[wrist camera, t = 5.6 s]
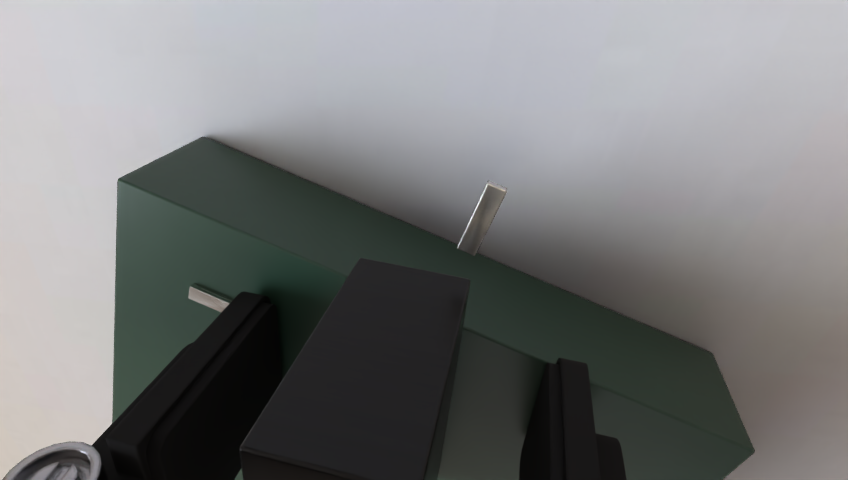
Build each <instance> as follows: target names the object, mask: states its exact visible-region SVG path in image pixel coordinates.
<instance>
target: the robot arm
mask: <svg viewBox="0 0 848 480" xmlns="http://www.w3.org/2000/svg"><path fill="white" fill-rule="evenodd" d="M281 381H282V374H281V359H280V345H279V331H278V316H277V307H276V305H274V304H271V302H270V299H269V297H267V296H264V295H259V294H254V293H249V292H245V291H243V292H241V293H239V294H238V295H237V296H236V297H235V298H234V299H233V300H232V302H231V303H230V304H229V305H228V306H227V307H226V308H225V309H224V310H223V311H222V312H221V313H220V314H219V316H218V317H217V318H216V319H215V320H214V321H213V322H212V323H211V324H210V325H209V326H208V327H207V329H206V330H205V331H204V332H203V333H202V334H201V335H200V336H199V337H198V338H197V339H196V340H195V341H194V342H193V343H190V344H188V345H187V346H186V347H184V348H183V349H182V350H181V351H180V352H179V353H178V354H177V355H176V356H175V357H174V359H173V360H172V361H171V362H170V363H169V364H168V365H167V366H166V367H165V368H164V369H163V370H162V371H161V372H160V373H159V375H158V376H157V377H156V378H155V379H154V380H153V381H152V382H151V383H150V384H149V385H148V386H147V387H146V388H145V389H144V390H143V392H142V393H141V394H140V395H139V396H138V397H137V398H136V399H135V400H134V401H133V402H132V403H131V404H130V405H129V406H128V408H127V409H126V410H125V411H124V412H123V413H122V414H121V415H120V416H119V417H118V418H117V419H116V420H115V421H114V422H113V423H112V425H111V426H110V427H109V428H108V429H107V430H106V431H105V432H104V433H103V434H102V435H101V436H100V437H99V438H98V439H97V441H96V442H95V443H94V444H93V445H92V446H91V445H88V444H86V443H83V442H64V443H58V444H54V445H51V446H48V447H46V448H43V449H40V450H38V451H36V452H35V453H33V454H31V455H29V456H28V457H26V458H24V459H23V460H22V461H20V462H19V463H18V464H17V465H16V466H14V467H13V468H12V469H11V470H10V471H9V472H8V473H7V474H6V476H5V477H4V478H3V479H2V480H235V478H236V476H237V475H238V473H239V471H240V470H241V468H242V467H241V460H240V453H239V449H240V446H241V444H242V443H243V441H244V439H245V438H246V436H247V435H248V433H249V432H250V430H251V428H252V427H253V425H254V424H255V422H256V421H257V419H258V417H259V416H260V414H261V413H262V411H263V410H264V408H265V406H266V405H267V403H268V402H269V400H270V399H271V397H272V395H273V394H274V392H275V391H276V389H277V387H278V386H279V384H280V383H281ZM519 480H627V479H626V473H625V466H624V460H623V454H622V449H621V445H620V442H619V440H618V439H617V438H614V437H610V436H605V435H601V434H596V433H595V424H594V415H593V406H592V397H591V388H590V380H589V371H588V365H587V363H583V362H579V361H574V360H569V359H564V358H558V360H557V362H556V364H553V363H547V364H546V367H545V370H544V374H543V377H542V381H541V384H540V388H539V391H538V395H537V398H536V401H535V405H534V408H533V412H532V415H531V419H530V422H529V426H528V429H527V433H526V436H525V440H524V443H523V447H522V451H521V457H520V468H519Z"/></svg>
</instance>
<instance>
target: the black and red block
mask: <svg viewBox="0 0 848 480" xmlns="http://www.w3.org/2000/svg"><path fill="white" fill-rule="evenodd" d="M470 283H471V282H470V279H468V278H462V277H457V276H452V275H447V274H442V273H437V272H432V271H427V270H422V269H416V268H411V267H406V266H401V265H396V264H391V263H386V262H381V261H375V260H370V259H365V258H359V260H358V261H357V263H356V265H355V266H354V268H353V269H352V271H351V272H350V274H349V276H348V277H347V279H346V280H345V282H344V283H343V285H342V287H341V288H340V290H339V291H338V293H337V295H336V296H335V298H334V299H333V301H332V302H331V304H330V306H329V307H328V309H327V310H326V312H325V313H324V315H323V317H322V318H321V320H320V321H319V323H318V324H317V326H316V328H315V329H314V331H313V332H312V334H311V335H310V337H309V339H308V340H307V342H306V343H305V345H304V347H303V348H302V350H301V351H300V353H299V354H298V356H297V358H296V359H295V361H294V362H293V364H292V365H291V367H290V369H289V370H288V372H287V373H286V375H285V376H284V378H283V380H282V381H281V383H280V384H279V386H278V387H277V389H276V391H275V392H274V394H273V395H272V397H271V399H270V400H269V402H268V403H267V405H266V406H265V408H264V410H263V411H262V413H261V414H260V416H259V417H258V419H257V421H256V422H255V424H254V425H253V427H252V428H251V430H250V432H249V433H248V435H247V436H246V438H245V439H244V441H243V443H242V444H241V446H240V449H239V453H240V460H241V467H242V474H243V480H437V478H438V472H439V467H440V461H441V455H442V449H443V443H444V437H445V431H446V425H447V419H448V413H449V407H450V401H451V395H452V389H453V384H454V378H455V372H456V366H457V360H458V354H459V348H460V342H461V336H462V330H463V324H464V318H465V312H466V307H467V301H468V295H469V289H470Z"/></svg>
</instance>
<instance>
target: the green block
mask: <svg viewBox="0 0 848 480" xmlns="http://www.w3.org/2000/svg"><path fill="white" fill-rule="evenodd" d="M506 193H507V188H506V187H503V186H501V185H499V184H496V183H494V182H492V181H489V180H488V181H487V184H486V186H485V188H484V190H483V192H482V194H481V196H480V198H479V201H478V203H477V205H476V207H475V209H474V211H473V213H472V216H471V218H470V220H469V222H468V224H467V226H466V228H465V231H464V233H463V235H462V237H461V239H460V241H459V243H458V245H457V244H455V243H453V242H450V241H448V240H446V239H443V238H441V237H438V236H436V235H434V234H431V233H429V232H427V231H424V230H422V229H420V228H417V227H415V226H413V225H410V224H408V223H406V222H403V221H401V220H399V219H396V218H394V217H392V216H389V215H387V214H385V213H382V212H380V211H378V210H375V209H373V208H370V207H368V206H366V205H363V204H361V203H359V202H356V201H354V200H352V199H349V198H347V197H345V196H342V195H340V194H338V193H335V192H333V191H331V190H328V189H326V188H324V187H321V186H319V185H317V184H314V183H312V182H310V181H307V180H305V179H302V178H300V177H298V176H295V175H293V174H291V173H288V172H286V171H284V170H281V169H279V168H277V167H274V166H272V165H270V164H267V163H265V162H263V161H260V160H258V159H256V158H253V157H251V156H249V155H246V154H244V153H242V152H239V151H237V150H235V149H232V148H230V147H227V146H225V145H223V144H220V143H218V142H216V141H213V140H211V139H209V138H206V137H201V138H199V139H197V140H195V141H193V142H191V143H189V144H187V145H185V146H183V147H181V148H179V149H177V150H175V151H173V152H171V153H169V154H167V155H165V156H163V157H161V158H159V159H157V160H155V161H153V162H151V163H149V164H147V165H145V166H143V167H141V168H139V169H137V170H135V171H133V172H131V173H129V174H127V175H125V176H123V177H121V178H119V179H118V182H117V229H116V277H115V324H114V371H113V419H112V423H113V422H114V421H115V420H116V419H117V418H118V417H119V416H120V415H121V414H122V413H123V412H124V411H125V410H126V409H127V408H128V406H129V405H130V404H131V403H132V402H133V401H134V400H135V399H136V398H137V397H138V396H139V395H140V394H141V393H142V392H143V390H144V389H145V388H146V387H147V386H148V385H149V384H150V383H151V382H152V381H153V380H154V379H155V378H156V377H157V376H158V375H159V373H160V372H161V371H162V370H163V369H164V368H165V367H166V366H167V365H168V364H169V363H170V362H171V361H172V360H173V359H174V357H175V356H176V355H177V354H178V353H179V352H180V351H181V350H182V349H183V348H184V347H186V346H187V345H188V344H190V343H193V342H194V341H195V340H196V339H197V338H198V337H199V336H200V335H201V334H202V333H203V332H204V331H205V330H206V329H207V327H208V326H209V325H210V324H211V323H212V322H213V321H214V320H215V319H216V318H217V317H218V316H219V314H220V313H221V312H222V311H223V310H224V309H225V308H226V307H227V306H228V305H229V304H230V303H231V302H232V300H233V299H234V298H235V297H236V296H237V295H238V294H239V293H241V292H243V291H245V292H249V293H254V294H259V295H264V296H267V297H269V299H270V302H271V304H274V305H276V307H277V316H278V331H279V345H280V359H281V374H282V380H283V378H284V376H285V375H286V373H287V372H288V370H289V369H290V367H291V365H292V364H293V362H294V361H295V359H296V358H297V356H298V354H299V353H300V351H301V350H302V348H303V347H304V345H305V343H306V342H307V340H308V339H309V337H310V335H311V334H312V332H313V331H314V329H315V328H316V326H317V324H318V323H319V321H320V320H321V318H322V317H323V315H324V313H325V312H326V310H327V309H328V307H329V306H330V304H331V302H332V301H333V299H334V298H335V296H336V295H337V293H338V291H339V290H340V288H341V287H342V285H343V283H344V282H345V280H346V279H347V277H348V276H349V274H350V272H351V271H352V269H353V268H354V266H355V265H356V263H357V261H358V260H359V258H365V259H370V260H375V261H381V262H386V263H391V264H396V265H401V266H406V267H411V268H416V269H422V270H427V271H432V272H437V273H442V274H447V275H452V276H457V277H462V278H468V279H470V282H471V283H470V289H469V295H468V301H467V307H466V312H465V318H464V324H463V330H462V336H461V342H460V348H459V354H458V360H457V366H456V372H455V378H454V384H453V389H452V395H451V401H450V407H449V413H448V419H447V425H446V431H445V437H444V443H443V449H442V455H441V461H440V467H439V472H438V478H437V480H519V468H520V457H521V451H522V447H523V443H524V440H525V436H526V433H527V429H528V426H529V422H530V419H531V415H532V412H533V408H534V405H535V401H536V398H537V395H538V391H539V388H540V384H541V381H542V377H543V374H544V370H545V367H546V364H547V363H553V364H556V362H557V360H558V358H564V359H569V360H574V361H579V362H583V363H587V365H588V371H589V380H590V388H591V397H592V406H593V415H594V424H595V433H596V434H601V435H605V436H610V437H614V438H617V439H618V440H619V442H620V445H621V449H622V454H623V460H624V466H625V473H626V479H627V480H723V479H724V478H725V477H726V476H727V475H729V474H730V473H731V472H732V471H733V470H735V469H736V468H737V467H738V466H739V465H740V464H742V463H743V462H744V461H745V460H746V459H747V458H749V457H750V456H751V455H752V454H753V453H754V452H755V450H754V448H753V445H752V443H751V441H750V438H749V436H748V434H747V432H746V429H745V427H744V425H743V422H742V420H741V418H740V415H739V413H738V411H737V408H736V406H735V404H734V402H733V399H732V397H731V395H730V392H729V390H728V388H727V385H726V383H725V381H724V378H723V376H722V374H721V371H720V369H719V367H718V365H717V362H716V360H715V358H714V355H713V354H712V353H710V352H708V351H706V350H703V349H701V348H699V347H696V346H694V345H692V344H689V343H687V342H685V341H682V340H680V339H678V338H675V337H673V336H671V335H668V334H666V333H664V332H661V331H659V330H657V329H654V328H652V327H649V326H647V325H645V324H642V323H640V322H638V321H635V320H633V319H631V318H628V317H626V316H624V315H621V314H619V313H617V312H614V311H612V310H610V309H607V308H605V307H603V306H600V305H598V304H596V303H593V302H591V301H589V300H586V299H584V298H581V297H579V296H577V295H574V294H572V293H570V292H567V291H565V290H563V289H560V288H558V287H556V286H553V285H551V284H549V283H546V282H544V281H542V280H539V279H537V278H535V277H532V276H530V275H528V274H525V273H523V272H521V271H518V270H516V269H513V268H511V267H509V266H506V265H504V264H502V263H499V262H497V261H495V260H492V259H490V258H488V257H485V256H483V255H481V254H478V253H477V251H478V249H479V247H480V245H481V243H482V241H483V239H484V237H485V235H486V233H487V231H488V229H489V227H490V225H491V223H492V221H493V219H494V217H495V215H496V213H497V211H498V209H499V207H500V205H501V203H502V201H503V199H504V197H505V195H506ZM235 480H243V474H242V468H241V470H240V471H239V473H238V475H237V476H236V478H235Z"/></svg>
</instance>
